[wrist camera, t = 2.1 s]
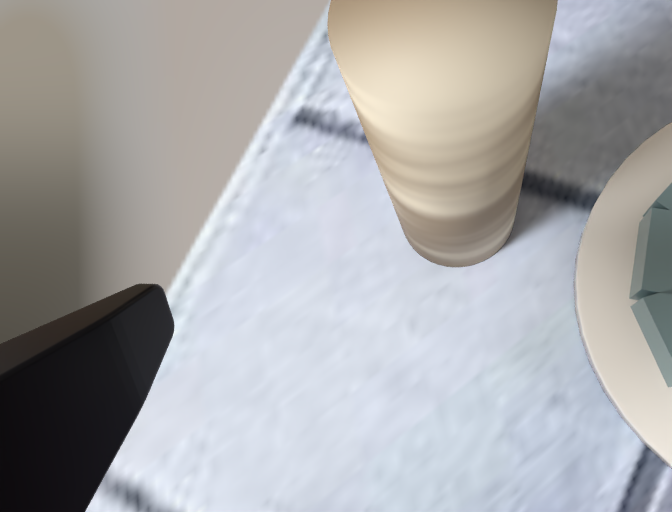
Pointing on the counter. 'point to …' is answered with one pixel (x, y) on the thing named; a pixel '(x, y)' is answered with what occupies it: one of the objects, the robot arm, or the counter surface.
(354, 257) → the counter surface
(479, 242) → the birch cylinder
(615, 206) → the ring dish
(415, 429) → the counter surface
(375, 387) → the counter surface
